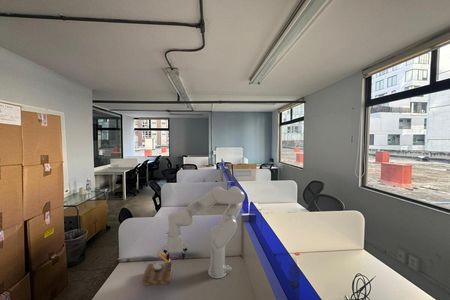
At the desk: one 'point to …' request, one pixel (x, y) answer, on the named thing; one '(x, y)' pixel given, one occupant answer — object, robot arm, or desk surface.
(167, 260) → the bar
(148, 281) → the hitch block
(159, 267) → the silver rounded cylinder
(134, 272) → the desk surface
